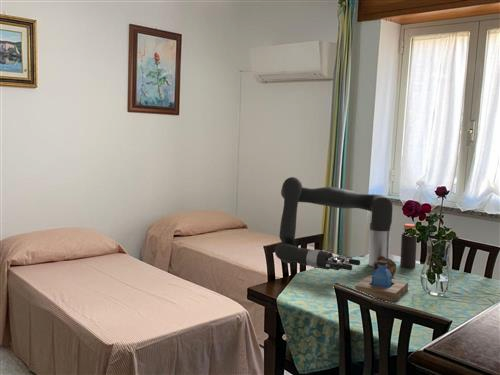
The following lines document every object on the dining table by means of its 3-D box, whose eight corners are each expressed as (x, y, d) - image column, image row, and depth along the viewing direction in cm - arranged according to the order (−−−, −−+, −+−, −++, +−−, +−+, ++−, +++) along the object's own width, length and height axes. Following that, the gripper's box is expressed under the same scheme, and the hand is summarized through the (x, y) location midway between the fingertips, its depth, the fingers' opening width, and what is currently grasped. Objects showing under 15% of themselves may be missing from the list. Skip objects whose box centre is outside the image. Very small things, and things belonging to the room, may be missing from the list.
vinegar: (397, 266, 233) (399, 224, 231) (405, 263, 238) (407, 222, 235) (410, 269, 228) (412, 226, 226) (418, 266, 233) (420, 224, 230)
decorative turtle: (388, 270, 226) (389, 253, 225) (402, 281, 211) (403, 262, 210) (368, 271, 225) (368, 254, 224) (380, 281, 210) (381, 263, 209)
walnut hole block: (369, 283, 207) (369, 275, 207) (407, 290, 199) (408, 282, 198) (354, 294, 194) (355, 285, 194) (395, 302, 185) (395, 293, 185)
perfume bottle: (371, 291, 195) (372, 262, 194) (375, 287, 200) (377, 258, 199) (387, 294, 192) (388, 264, 191) (391, 290, 197) (392, 260, 196)
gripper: (312, 254, 204) (349, 260, 195) (326, 247, 215) (362, 252, 207) (311, 271, 205) (348, 278, 196) (326, 264, 216) (362, 270, 207)
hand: (355, 265), depth 201 cm, fingers open, 8 cm apart
